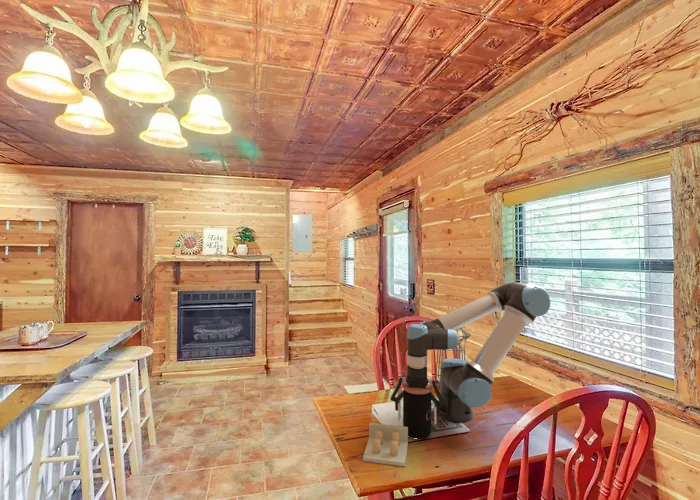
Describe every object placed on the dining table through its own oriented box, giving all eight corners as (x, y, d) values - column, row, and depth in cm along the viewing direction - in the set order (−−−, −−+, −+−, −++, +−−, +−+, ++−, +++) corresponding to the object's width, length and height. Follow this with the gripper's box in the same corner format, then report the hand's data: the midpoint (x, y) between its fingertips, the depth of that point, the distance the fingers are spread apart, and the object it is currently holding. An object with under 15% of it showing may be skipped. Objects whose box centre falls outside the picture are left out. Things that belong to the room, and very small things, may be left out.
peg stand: (407, 443, 128) (407, 426, 128) (405, 466, 114) (405, 448, 114) (369, 438, 131) (369, 422, 131) (362, 460, 117) (362, 442, 117)
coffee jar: (431, 442, 129) (431, 393, 129) (402, 439, 131) (402, 390, 131) (431, 427, 139) (431, 382, 139) (403, 425, 141) (403, 380, 141)
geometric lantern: (460, 383, 185) (461, 317, 184) (471, 396, 170) (472, 324, 169) (430, 383, 185) (431, 317, 184) (438, 396, 169) (440, 324, 168)
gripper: (450, 364, 136) (450, 419, 136) (385, 360, 141) (385, 412, 142) (451, 371, 129) (451, 429, 129) (383, 366, 134) (383, 421, 134)
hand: (417, 420), depth 135 cm, fingers open, 13 cm apart
